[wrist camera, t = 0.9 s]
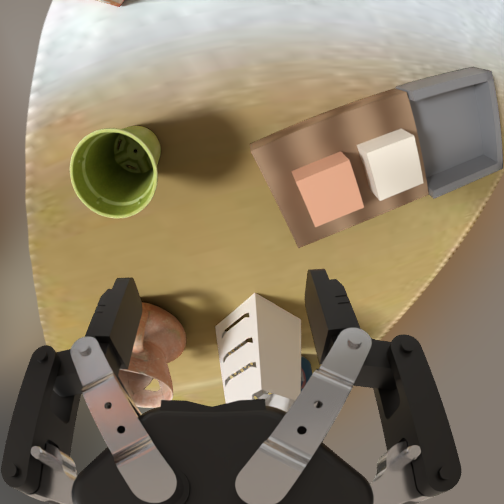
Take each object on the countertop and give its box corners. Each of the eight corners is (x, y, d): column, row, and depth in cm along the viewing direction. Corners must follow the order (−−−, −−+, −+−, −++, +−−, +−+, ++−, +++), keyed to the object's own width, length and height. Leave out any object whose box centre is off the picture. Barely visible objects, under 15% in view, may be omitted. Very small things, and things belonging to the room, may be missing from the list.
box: (472, 66, 26) (491, 71, 22) (486, 157, 33) (502, 168, 30) (395, 86, 29) (411, 91, 26) (419, 185, 37) (433, 198, 33)
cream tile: (401, 128, 29) (414, 135, 27) (411, 172, 32) (423, 183, 30) (356, 145, 30) (366, 153, 28) (370, 189, 34) (379, 201, 31)
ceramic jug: (181, 356, 57) (174, 419, 45) (111, 340, 54) (94, 401, 42) (196, 293, 47) (189, 369, 36) (109, 273, 44) (80, 343, 32)
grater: (260, 348, 56) (267, 446, 39) (215, 326, 51) (210, 434, 35) (301, 319, 51) (320, 426, 35) (254, 292, 47) (262, 412, 31)
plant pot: (112, 102, 29) (77, 118, 22) (185, 124, 32) (169, 145, 25) (96, 172, 34) (65, 203, 27) (162, 193, 36) (144, 230, 29)
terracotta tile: (340, 151, 31) (349, 160, 29) (355, 195, 34) (364, 207, 32) (291, 171, 32) (295, 181, 30) (310, 214, 36) (315, 227, 33)
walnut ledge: (394, 88, 29) (406, 91, 26) (418, 184, 37) (428, 194, 34) (249, 143, 33) (250, 151, 31) (295, 235, 41) (298, 248, 38)
